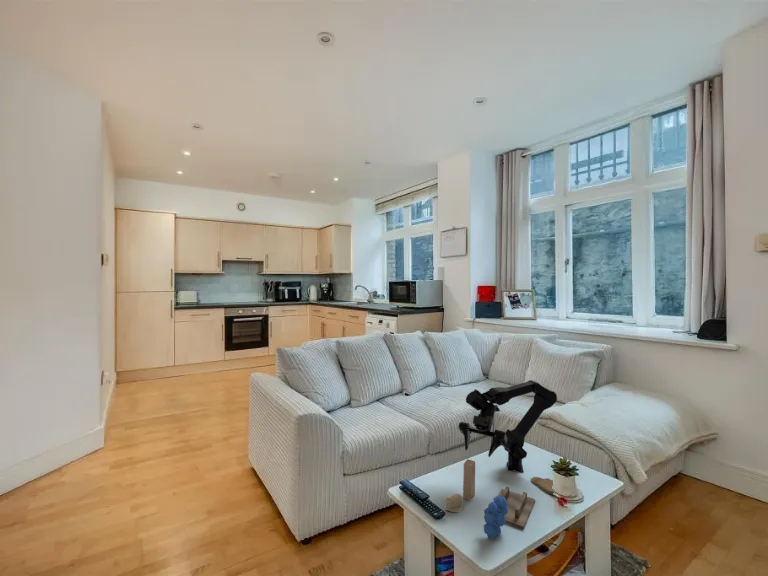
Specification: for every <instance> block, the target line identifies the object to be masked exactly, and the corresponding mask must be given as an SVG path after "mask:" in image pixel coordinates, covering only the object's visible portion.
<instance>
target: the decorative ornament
mask: <svg viewBox="0 0 768 576" xmlns="http://www.w3.org/2000/svg"><path fill="white" fill-rule="evenodd" d="M444 499H445V502H446V503H445V506H444V508H443V509H444V510H446V511H448V512H451V513H459V512H461V511H462V509H463V507H464V505H463V496H462V495H461V494H459V493H454V494H452V495H451V496H449V497H448V496H447V497H445V498H444Z"/></svg>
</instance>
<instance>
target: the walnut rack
mask: <svg viewBox="0 0 768 576" xmlns="http://www.w3.org/2000/svg"><path fill="white" fill-rule="evenodd" d="M510 489H511V488H510V487H509V486H505V488H501V489H500V492H499V493H498V494H497V496H501V497H504V498H505V499H506V501H507V505H506V506H507V508H508V513H507V514H506V515H503V516H504V517H505V520H506V524H508V525H509V526H512V527H515V528H517V529H520V530H524V529H525V528H526V525H527V522H528V520H529V518H530V516H531V514H532V512H533V511H532V510H533V508H534V506H535V503H536V499H535V498H534V497H529V496H528V492H525V491H523V492H522V494H521V493H518V492H514V491H512V490H510Z"/></svg>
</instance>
